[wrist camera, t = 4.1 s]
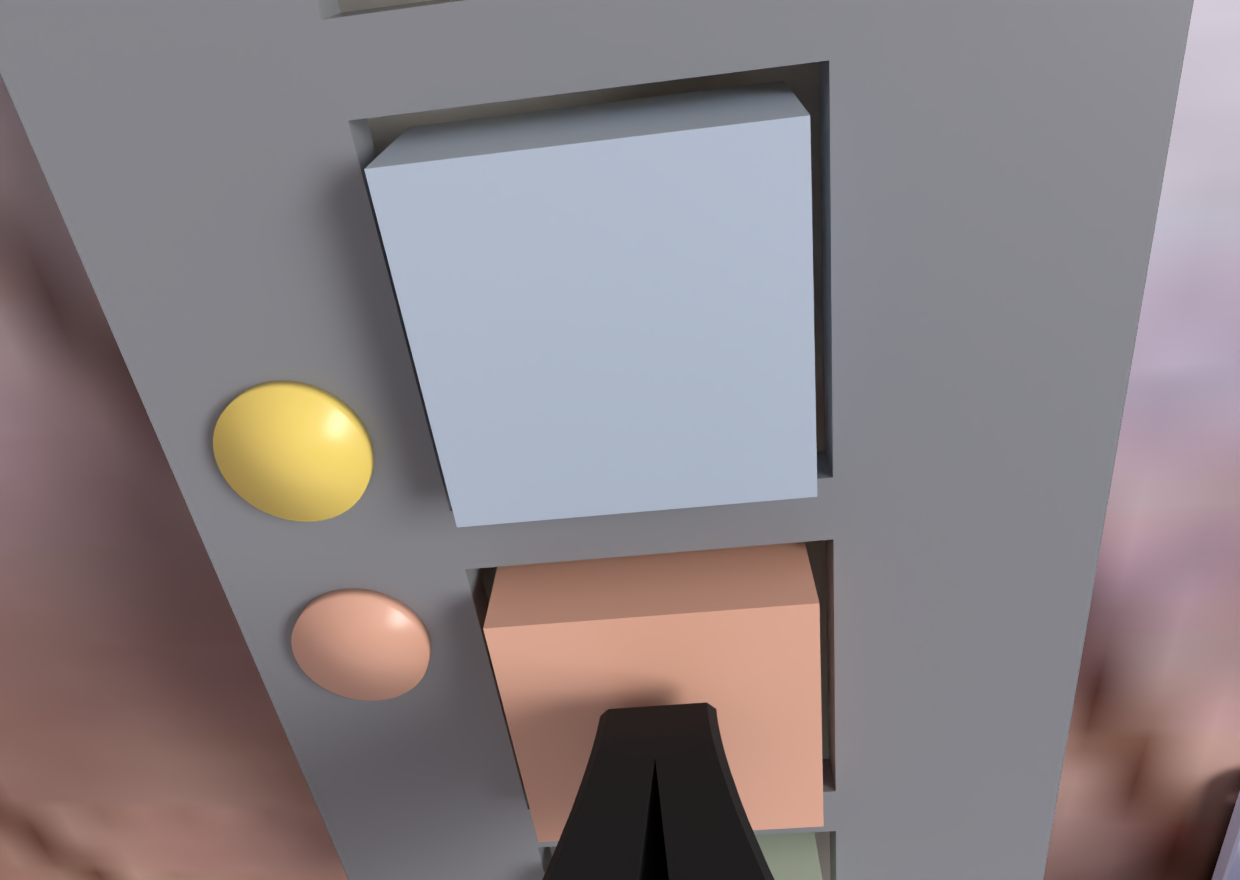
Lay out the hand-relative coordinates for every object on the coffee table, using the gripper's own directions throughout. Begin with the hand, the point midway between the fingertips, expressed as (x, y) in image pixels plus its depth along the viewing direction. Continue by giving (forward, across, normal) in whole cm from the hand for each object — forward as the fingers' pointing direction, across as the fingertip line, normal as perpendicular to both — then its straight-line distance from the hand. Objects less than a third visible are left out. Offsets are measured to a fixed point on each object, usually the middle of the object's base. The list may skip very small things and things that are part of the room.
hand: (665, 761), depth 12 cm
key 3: (+2, 0, -6) cm, 6 cm away
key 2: (+2, 0, 0) cm, 2 cm away
